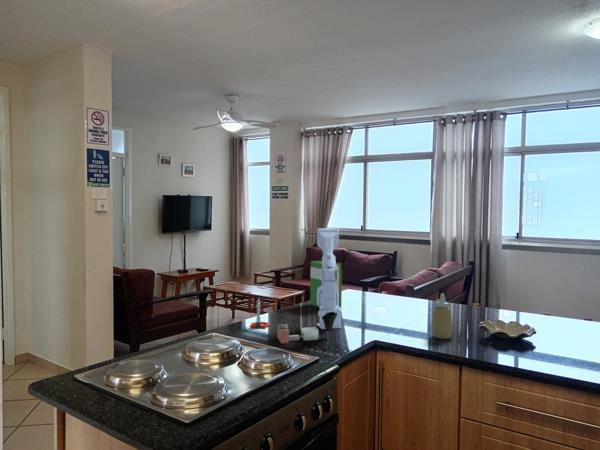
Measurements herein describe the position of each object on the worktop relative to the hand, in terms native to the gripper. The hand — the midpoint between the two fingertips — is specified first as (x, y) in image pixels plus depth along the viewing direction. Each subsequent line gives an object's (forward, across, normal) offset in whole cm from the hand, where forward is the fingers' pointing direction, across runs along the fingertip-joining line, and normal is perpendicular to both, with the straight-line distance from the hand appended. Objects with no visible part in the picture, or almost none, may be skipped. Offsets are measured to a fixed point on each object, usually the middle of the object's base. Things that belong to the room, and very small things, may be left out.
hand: (328, 330), depth 176 cm
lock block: (+3, +6, -6) cm, 8 cm away
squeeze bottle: (+3, -26, +39) cm, 47 cm away
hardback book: (+3, -51, -29) cm, 59 cm away
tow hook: (+3, +1, -34) cm, 35 cm away
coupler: (+3, +12, -12) cm, 18 cm away
